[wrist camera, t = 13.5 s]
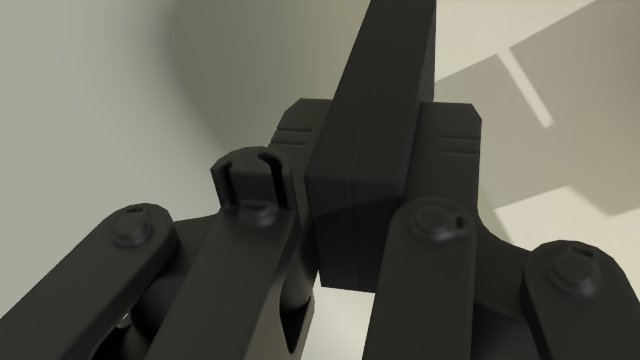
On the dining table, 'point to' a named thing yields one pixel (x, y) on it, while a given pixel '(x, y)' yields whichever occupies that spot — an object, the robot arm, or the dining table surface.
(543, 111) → the dining table surface
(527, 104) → the dining table surface
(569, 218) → the dining table surface
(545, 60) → the dining table surface
